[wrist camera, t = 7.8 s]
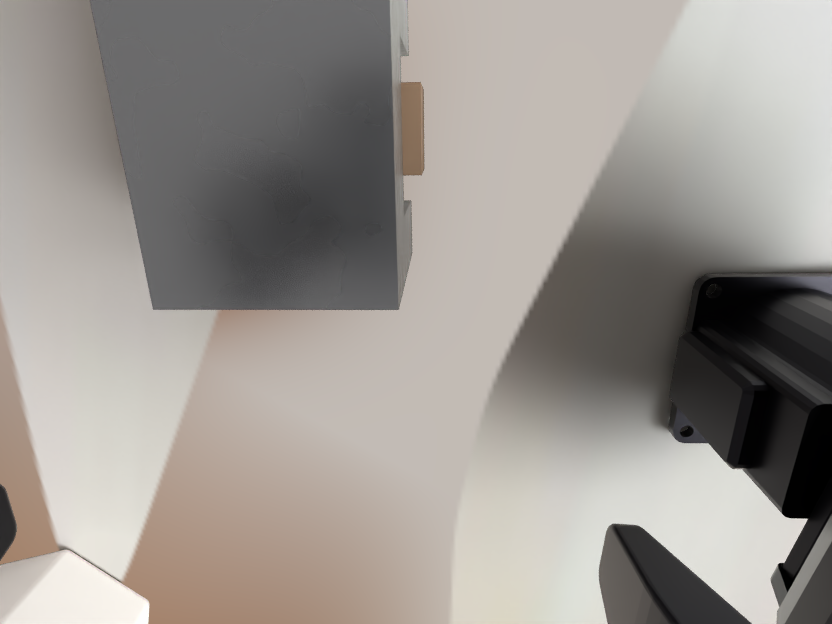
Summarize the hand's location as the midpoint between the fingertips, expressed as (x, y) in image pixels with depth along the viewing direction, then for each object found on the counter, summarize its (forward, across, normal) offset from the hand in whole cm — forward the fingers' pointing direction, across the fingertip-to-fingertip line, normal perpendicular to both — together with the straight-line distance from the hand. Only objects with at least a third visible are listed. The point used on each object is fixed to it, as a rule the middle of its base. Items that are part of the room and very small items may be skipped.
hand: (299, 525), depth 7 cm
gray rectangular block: (+11, +2, -5) cm, 13 cm away
